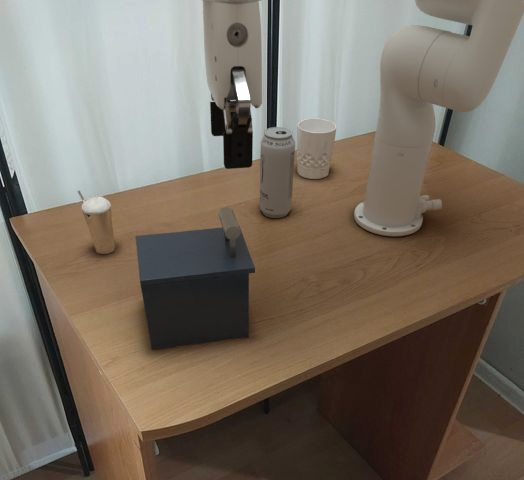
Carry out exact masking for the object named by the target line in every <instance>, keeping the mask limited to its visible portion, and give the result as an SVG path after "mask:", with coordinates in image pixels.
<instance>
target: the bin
mask: <svg viewBox="0 0 524 480" xmlns="http://www.w3.org/2000/svg"><path fill="white" fill-rule="evenodd" d="M140 289H141V295H142V296H141V297H142V301H143V307H144V313H145V319H146V326H147V331H148V336H149V337H148V338H149V343H150V348H151V351H156V350H163V349H171V348H178V347H186V346H194V345H201V344H208V343H215V342H223V341H230V340H238V339H245V338H249V337H250V273H249V274H241V275H232V276H223V277H214V278H206V279H197V280H188V281H179V282H171V283H162V284H153V285H145V286H141V285H140Z"/></svg>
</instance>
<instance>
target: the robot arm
mask: <svg viewBox="0 0 524 480" xmlns="http://www.w3.org/2000/svg"><path fill="white" fill-rule="evenodd" d="M261 1H262V0H202V21H203V24H202V25H203V47H204V48H203V49H204V64H205V73H206V74H205V76H206V83H207V87H208V90H209V91H210V100H211V101H210V102H209V107H210V108H209V109H210V110H209V111H210V113H209V114H210V133H211V135H212V136H213V137H222V141H223V142H222V144H223V149H222V150H223V166H224V168H225V169H227V170H234V169H247V168H248V169H249V168H251V167H252V166H253V151H254V149H253V147H254V141H253V140H254V131H253V130H254V129H253V118H252V110H251V107H254V109H260V108H261V106H262V105H263V57H262V56H263V53H262V50H263V49H262V46H263V45H262V26H261V25H262V23H261V11H260V2H261ZM414 3H415V6H416V7H417V8H418V9H419V11H420V12H422V13H423V14H425V15H428V16H430V17H433V18H436V19H441V20H446V21H451V22H455V23H460V24H465V25H469V26H471V30H470V35H466V34H461V33H457V32H452V31H449V30H445V29H440V28H435V27H431V26H426V25H419V24H418V25H415V24H414V25H413V24H412V25H407V26H403V27H400V28H398V29H397V30H395V31H394V32H393V33H392V34H391V35H390V36H389V37H388V39H387V40H386V42H385V44H384V46H383V47H382V51H381V54H380V62H379V87H380V88H379V89H380V90H379V107H378V115H377V123H376V129H375V133H374V140H373V147H372V152H371V158H370V159H371V160H370V166H369V172H368V177H367V184H366V189H365V196H364V201H362V202H360V203H359V204H358V205H357V206H356V207H355V208H354V213H353V218H354V221H355V223H356V224H357V225H358V226H359V227H360V228H362V229H363V230H366V231H368V232H369V233H372V234H375V235H379V236H384V237H404V236H408V235H412V234H414V233H416V232H418V231H419V230H421V229H420V228H421V227H422V225H423V220H424V217H423V214H424V213H426V212H427V211H431V212H432V211H439V210H442V207H443V202H442V200H441V199H440V198H436V199H430V195H428V194H425V195H421V192H422V187H423V184H424V179H425V174H426V171H427V166H428V161H429V157H430V155H431V149H432V146H433V142H434V137H435V133H436V123H437V122H436V114H435V108H434V106H435V105H436V106H439V107H442V108H445V109H448V110H452V111H455V112H461V113H467V112H472V111H474V110H475V109H477V108H478V107H480V106H481V105H482V104H483V103H484V102H485V100H486V99H487V97H488V95H489V94H490V92H491V90H492V88H493V86H494V84H495V81H496V79H497V77H498V75H499V72H500V70H501V68H502V65H503V63H504V60H505V58H506V56H507V53H508V51H509V49H510V47H511V45H512V42H513V39H514V37H515V34H516V32H517V30H518V28H519V25H520V23H521V21H522V18H523V16H524V0H414Z"/></svg>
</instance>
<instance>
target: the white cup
mask: <svg viewBox="0 0 524 480" xmlns="http://www.w3.org/2000/svg"><path fill="white" fill-rule="evenodd" d="M296 130H297V131H296V133H297V134H296V159H297V168H296V171H297V174H298V175H299V176H300V177H302V178H305V179H308V180H309V179H310V180H320V179H324V178H326V177H328V176H329V173H330V169H331V168H330V166H331V163H332V159H333V158H332V157H333V151H334V148H335V147H334V146H335V140H336V132H337V124H336V123H335V122H334V121H332V120H329V119H325V118H319V117H317V118H316V117H313V118H311V117H310V118H305V119H302V120H300V121H298V123H297V129H296Z"/></svg>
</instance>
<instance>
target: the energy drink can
mask: <svg viewBox="0 0 524 480" xmlns="http://www.w3.org/2000/svg"><path fill="white" fill-rule="evenodd" d="M263 132H264V133H263V136H262V138H261V140H260V157H259V159H260V160H259V161H260V165H259V167H260V168H259V210H260V211H262V212H261V213H262V214H263V215H264V216H265V217H268V218H271V219H280V218H281V219H282V218H284V217H286V216H287V215H288V214H289V212H290V211H291V210H292V205H293V203H292V202H293V201H292V200H293V188H294V187H293V186H294V173H295V172H294V170H295V155H296V152H295V151H296V141H295V138H294V137H293V131H292V130H291V129H289V128H287V127H284V126H283V127H280V126H272V127H269V128H266V129H265V130H264V131H263Z"/></svg>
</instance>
